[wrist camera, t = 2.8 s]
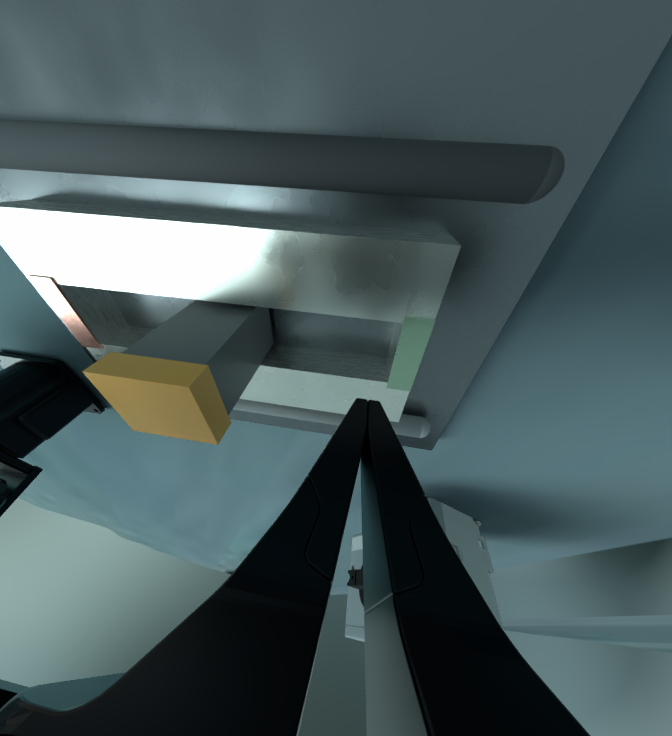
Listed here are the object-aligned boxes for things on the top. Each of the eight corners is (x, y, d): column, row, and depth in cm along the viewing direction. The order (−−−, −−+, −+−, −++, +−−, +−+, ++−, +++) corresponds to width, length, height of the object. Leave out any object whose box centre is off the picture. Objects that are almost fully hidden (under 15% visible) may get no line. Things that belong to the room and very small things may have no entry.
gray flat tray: (122, 381, 19) (107, 394, 18) (-75, 117, 9) (-134, 110, 8) (425, 426, 17) (428, 443, 16) (559, 148, 7) (589, 144, 6)
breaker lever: (221, 337, 14) (133, 430, 9) (205, 287, 12) (81, 371, 7) (277, 344, 14) (217, 444, 9) (270, 294, 12) (188, 387, 7)
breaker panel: (135, 394, 21) (105, 422, 19) (-150, 6, 8) (-358, -58, 6) (429, 439, 19) (436, 477, 17) (662, 7, 6) (832, -92, 4)
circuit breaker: (386, 475, 24) (389, 749, 13) (480, 521, 28) (547, 765, 16) (344, 494, 29) (319, 709, 17) (429, 532, 32) (455, 729, 21)
